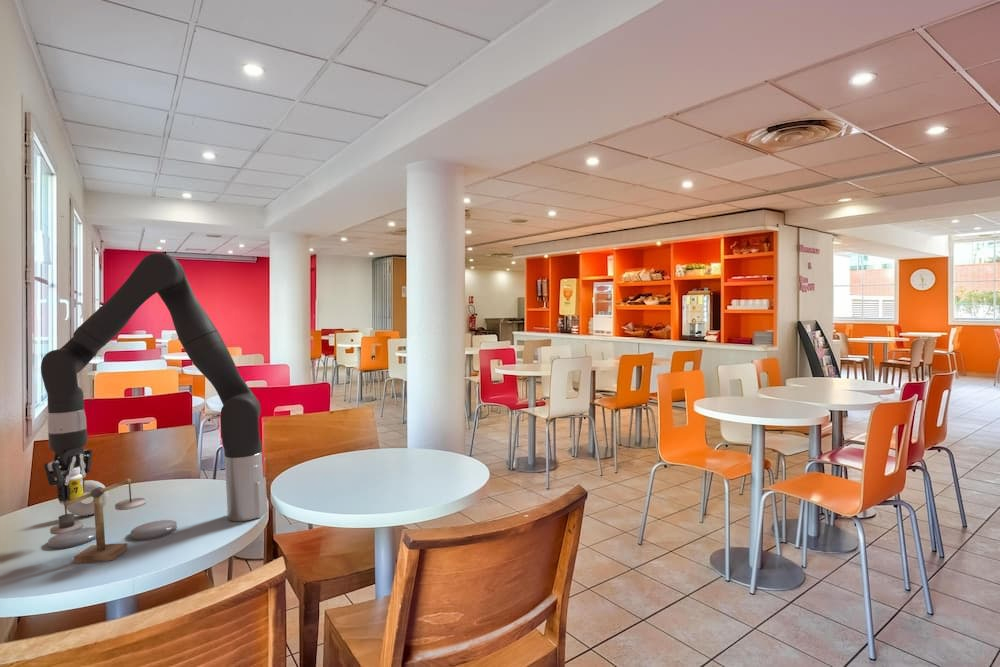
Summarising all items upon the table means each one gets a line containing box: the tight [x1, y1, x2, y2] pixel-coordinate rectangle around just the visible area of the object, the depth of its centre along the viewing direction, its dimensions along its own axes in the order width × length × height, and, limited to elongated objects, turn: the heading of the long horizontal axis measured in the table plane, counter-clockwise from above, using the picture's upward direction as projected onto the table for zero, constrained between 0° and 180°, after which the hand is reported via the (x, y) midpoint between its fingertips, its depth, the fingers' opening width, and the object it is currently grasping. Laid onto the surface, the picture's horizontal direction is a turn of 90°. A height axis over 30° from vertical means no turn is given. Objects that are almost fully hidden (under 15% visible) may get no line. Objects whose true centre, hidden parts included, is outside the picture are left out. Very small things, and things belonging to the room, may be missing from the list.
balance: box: [49, 478, 147, 564], centre depth 126 cm, size 20×6×18 cm, turn 95°
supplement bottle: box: [58, 467, 84, 506], centre depth 136 cm, size 5×5×8 cm
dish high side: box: [130, 519, 178, 541], centre depth 140 cm, size 10×10×1 cm
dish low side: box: [47, 527, 96, 550], centre depth 136 cm, size 10×10×1 cm
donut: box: [66, 479, 109, 517], centre depth 153 cm, size 10×4×10 cm, turn 120°
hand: (71, 496), depth 136 cm, fingers closed on supplement bottle, 4 cm apart
